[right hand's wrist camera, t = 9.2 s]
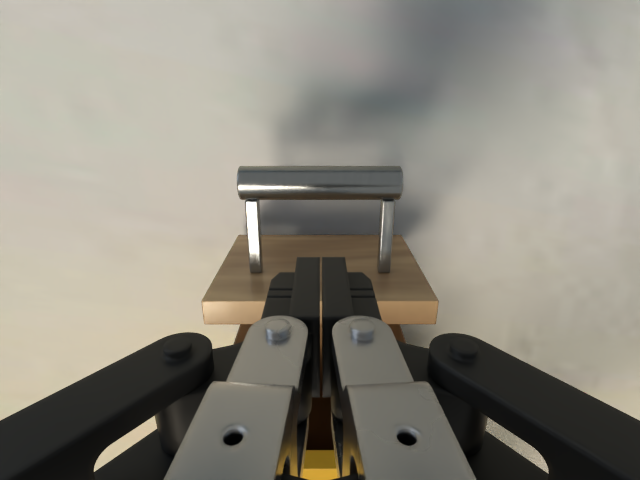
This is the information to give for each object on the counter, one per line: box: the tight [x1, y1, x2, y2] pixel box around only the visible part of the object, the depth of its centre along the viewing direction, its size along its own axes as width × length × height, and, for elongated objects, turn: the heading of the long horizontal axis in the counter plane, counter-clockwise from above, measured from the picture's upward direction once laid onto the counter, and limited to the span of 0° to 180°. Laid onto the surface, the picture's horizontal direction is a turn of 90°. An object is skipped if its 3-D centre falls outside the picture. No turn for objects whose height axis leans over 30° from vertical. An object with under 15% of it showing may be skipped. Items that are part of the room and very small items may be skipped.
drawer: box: [202, 166, 439, 450], centre depth 23 cm, size 23×10×8 cm, turn 0°
